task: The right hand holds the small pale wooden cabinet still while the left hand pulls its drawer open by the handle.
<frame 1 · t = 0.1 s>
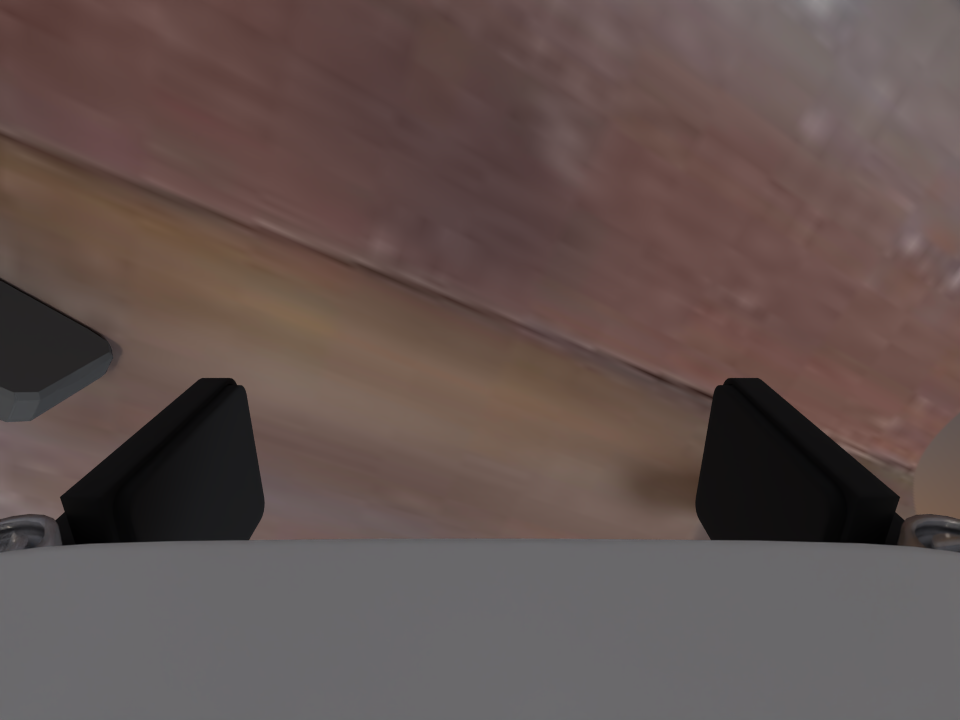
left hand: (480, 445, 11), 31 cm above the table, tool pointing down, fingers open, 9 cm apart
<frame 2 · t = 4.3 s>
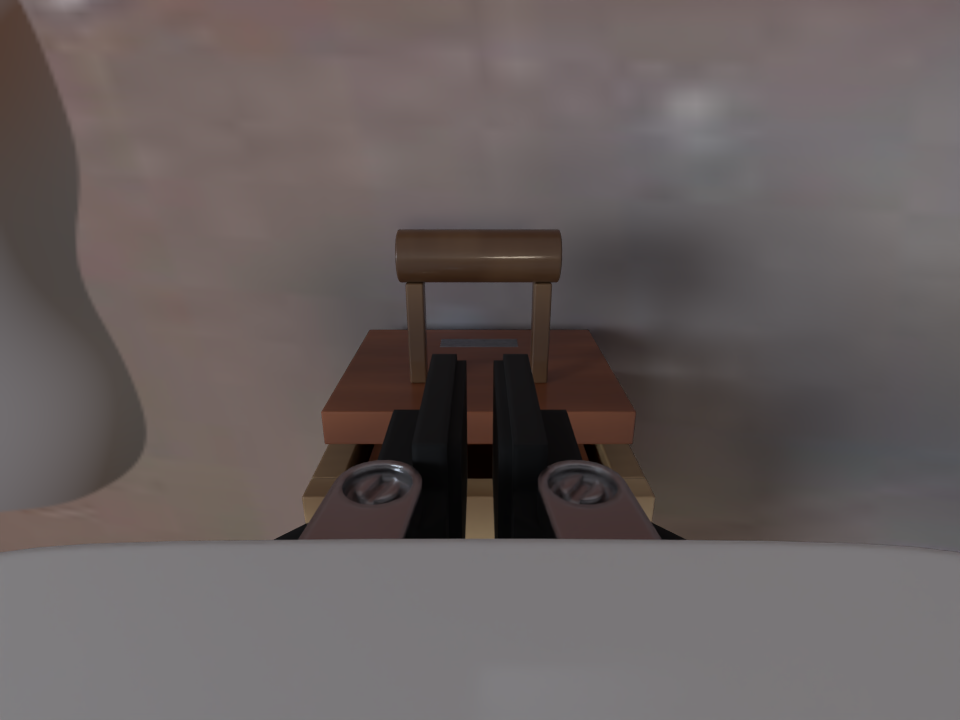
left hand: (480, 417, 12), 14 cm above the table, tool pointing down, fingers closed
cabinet: (479, 544, 31), on the table, touching right hand
drawer: (479, 516, 24), point 5 cm above the table, slide at 1.3 cm
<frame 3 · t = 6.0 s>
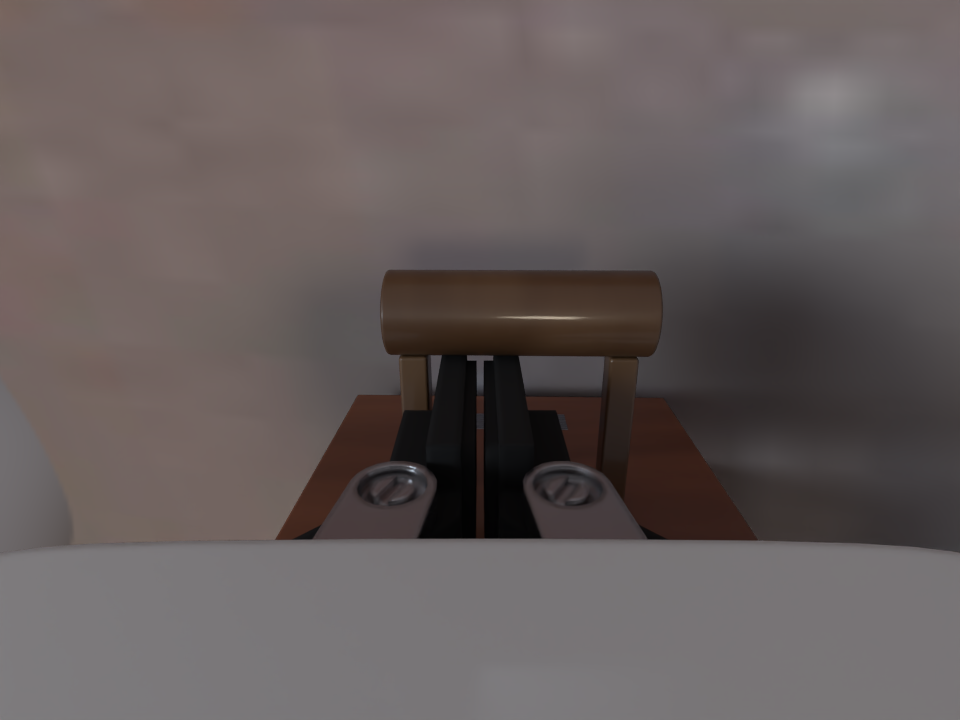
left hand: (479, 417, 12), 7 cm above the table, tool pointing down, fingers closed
drawer: (508, 668, 17), point 5 cm above the table, slide at 1.7 cm, touching left hand
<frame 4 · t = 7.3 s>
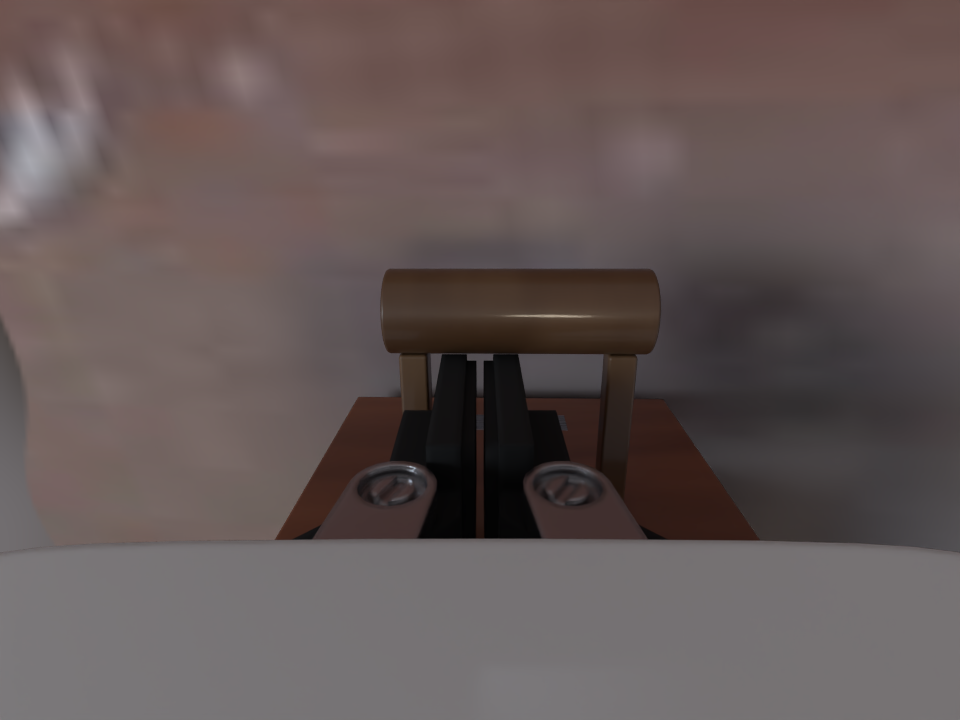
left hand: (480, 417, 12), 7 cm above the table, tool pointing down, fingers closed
drawer: (509, 670, 17), point 5 cm above the table, slide at 8.7 cm, touching left hand
when the right hand's fingers open (6 cm above the table, at t = 9.1 s): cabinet stays where it is, on the table.
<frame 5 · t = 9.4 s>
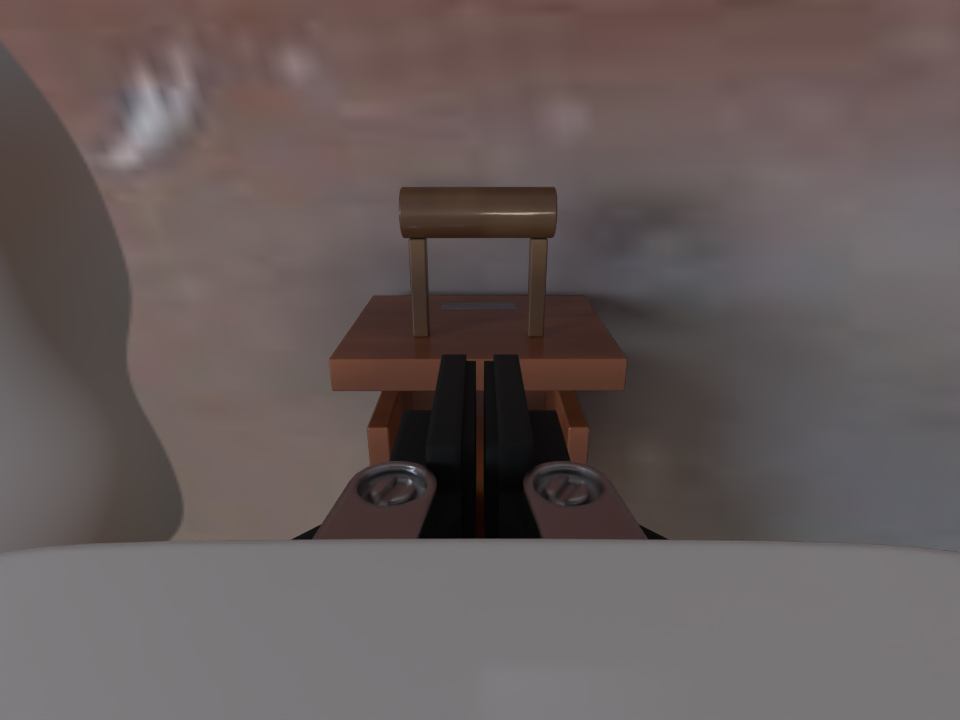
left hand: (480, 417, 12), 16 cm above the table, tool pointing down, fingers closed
drawer: (478, 473, 25), point 5 cm above the table, slide at 8.5 cm
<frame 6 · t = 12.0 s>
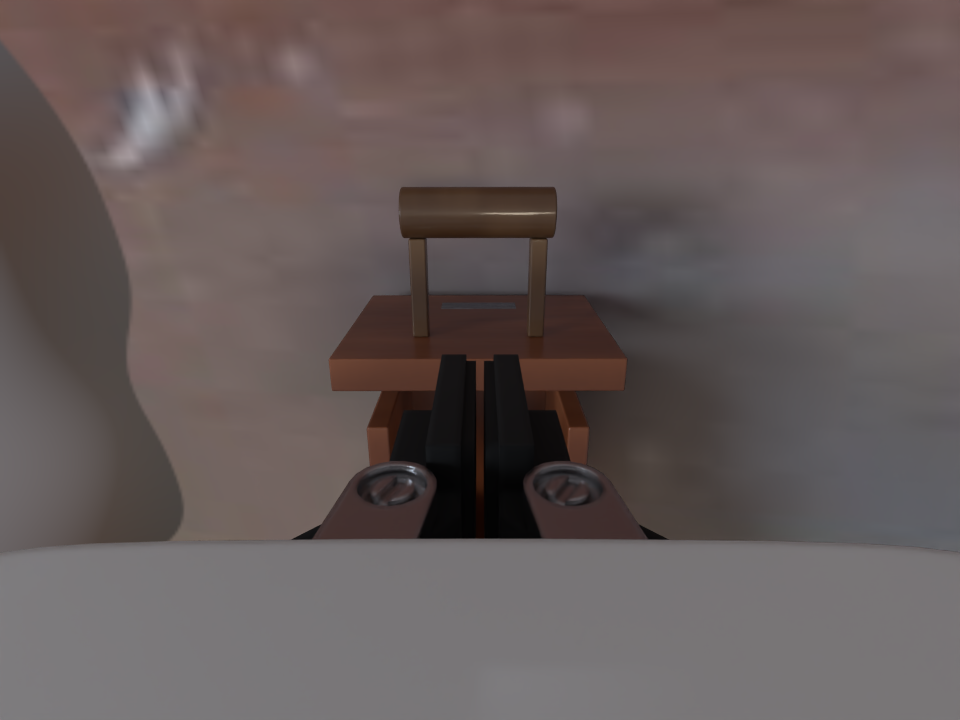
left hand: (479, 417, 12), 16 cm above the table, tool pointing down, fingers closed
drawer: (478, 473, 25), point 5 cm above the table, slide at 8.5 cm
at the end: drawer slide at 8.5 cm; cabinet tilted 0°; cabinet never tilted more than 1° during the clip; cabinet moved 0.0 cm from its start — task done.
